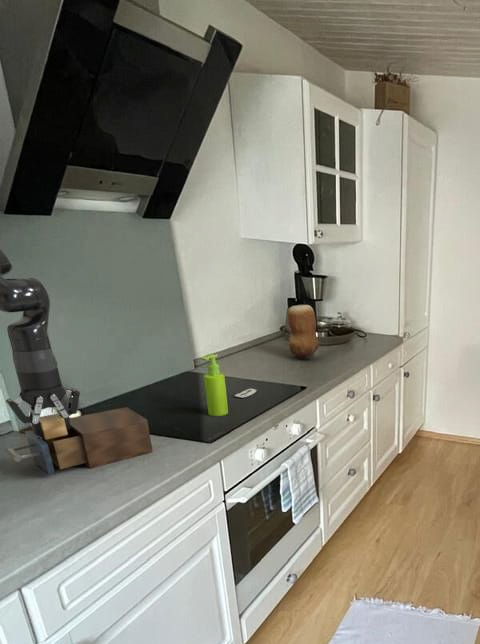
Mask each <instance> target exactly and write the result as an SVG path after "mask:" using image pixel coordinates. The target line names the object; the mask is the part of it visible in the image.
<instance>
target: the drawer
mask: <svg viewBox="0 0 480 644" xmlns="http://www.w3.org/2000/svg"><path fill="white" fill-rule="evenodd" d="M68 430H69V432H67V434H68V435H65V436H60V437H56V438H51V439H45V438H43V437H41V438H40V437H39V436H36V435H35V434H34V433H33V429H29V430H25V431H24V432H25V436H26V440H27V444H24V445H21V446H15V447H11V446H7V447H5V449H4V451H5V453H6V454H7V455H8V456H9V457H10V458H11V459H12V460H13V461H14V462H17V463H19V462H21V461H22V460H25V459H28V458H32V460H33V461H34V462H35V463H36V464H37V465H38V467H40V468H41V469H42V470H43V471H44V472H45V473H46V474H47V475H48V476H50V475H53V474H56V473H55V468H54V465H55V466H56V467H57V468H58V469H59V470H65V469H68V468H71V467H75V466H79V465H83V464H84V463H88V461H87V457H86V453H85V448H84V444H83V440H82V436H81V435H80V434H79V433H77V432H76V431H75V430H73V429H72V428H71V429H68ZM24 449H29V450H30V453H28V454H24V455H20V454H19V453H18V452H17V451H20V450H24ZM84 465H85V464H84Z"/></svg>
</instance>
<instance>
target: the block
mask: <svg viewBox="0 0 480 644" xmlns="http://www.w3.org/2000/svg"><path fill="white" fill-rule="evenodd" d="M39 423H40V424H41V428H42V432H43V436H44V437H43V438H45V439H51V438H56V437H60V436H65V435H68V434H67V429H66V425H65V421H64V418H62V417H61V416H60V414H59V413H53V414H48V415H43V416H40V417H39Z"/></svg>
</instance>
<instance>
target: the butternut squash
mask: <svg viewBox="0 0 480 644" xmlns="http://www.w3.org/2000/svg"><path fill="white" fill-rule="evenodd" d="M287 322H288V325H289V329H290V337H289V339H288V348H289V350H290V352H291V354H293V355H294V356H296V358H299V359H301V360H309V359H311V358H312V357H313V356H314V354H315V353H316V352H317V350H318V349H319V345H320V344H319V339H318V337H317V331H316V330H317V320H316V313H315V310H314V308H313V307H312V306H311V305H309V304H297V305H292V306H290V307H288V310H287Z"/></svg>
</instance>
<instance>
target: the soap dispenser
mask: <svg viewBox="0 0 480 644" xmlns="http://www.w3.org/2000/svg"><path fill="white" fill-rule="evenodd" d="M218 356H219V355H218V354H216V353H209V354H206V355H203V356H201V357H200V360H203V361H207V360H209V363H208V364H207V365H206V367H207V373H206V374H205V373H204V375H203V379H204V386H205V387H204V388H205V395H206V405H207V412H208V413H207V414H208V415H209V416H210V417H211V416H212V417H222V416H226V415H227V414H229V407H228V397H227V396H228V395H227V385H226V378H225V373H223V372H221V370H220V364H219V363H217V361H216V358H217V357H218Z"/></svg>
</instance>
